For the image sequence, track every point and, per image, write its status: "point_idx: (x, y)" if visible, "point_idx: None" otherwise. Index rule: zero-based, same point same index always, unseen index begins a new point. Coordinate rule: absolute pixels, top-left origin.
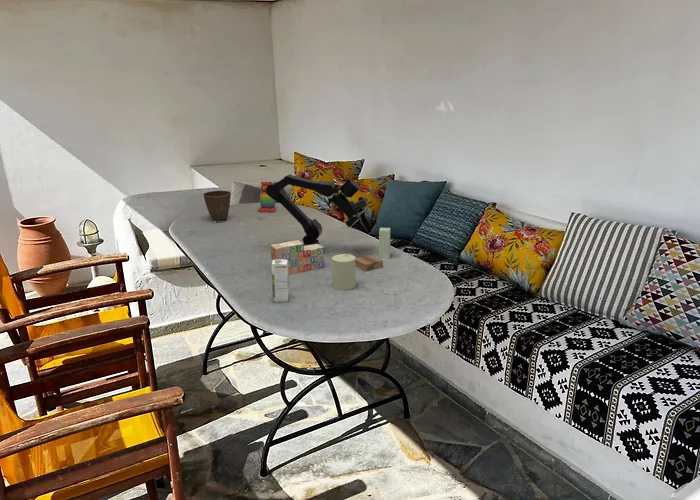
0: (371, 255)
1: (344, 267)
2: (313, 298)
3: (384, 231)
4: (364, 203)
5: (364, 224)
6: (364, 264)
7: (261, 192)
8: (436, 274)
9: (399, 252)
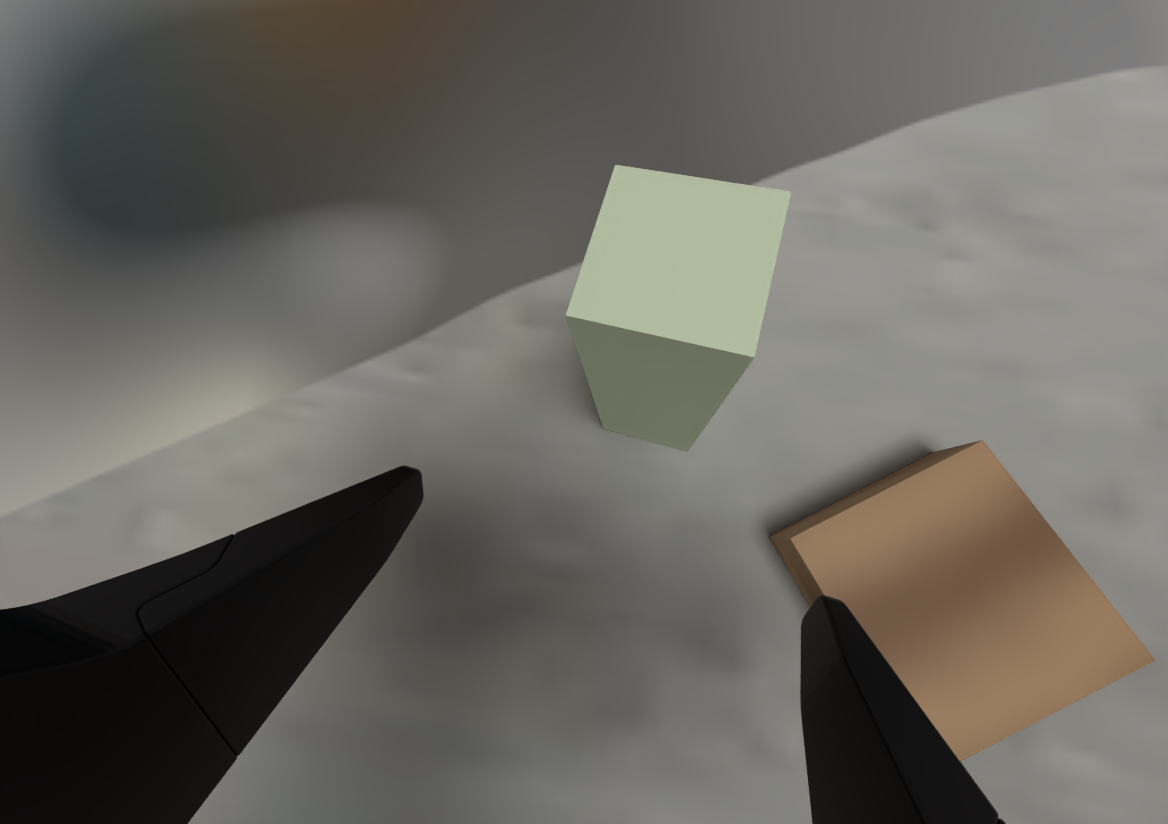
0: (809, 534)
1: None
2: None
3: (768, 275)
4: None
5: (345, 608)
6: (1139, 666)
7: None
8: (1080, 95)
9: (559, 275)
